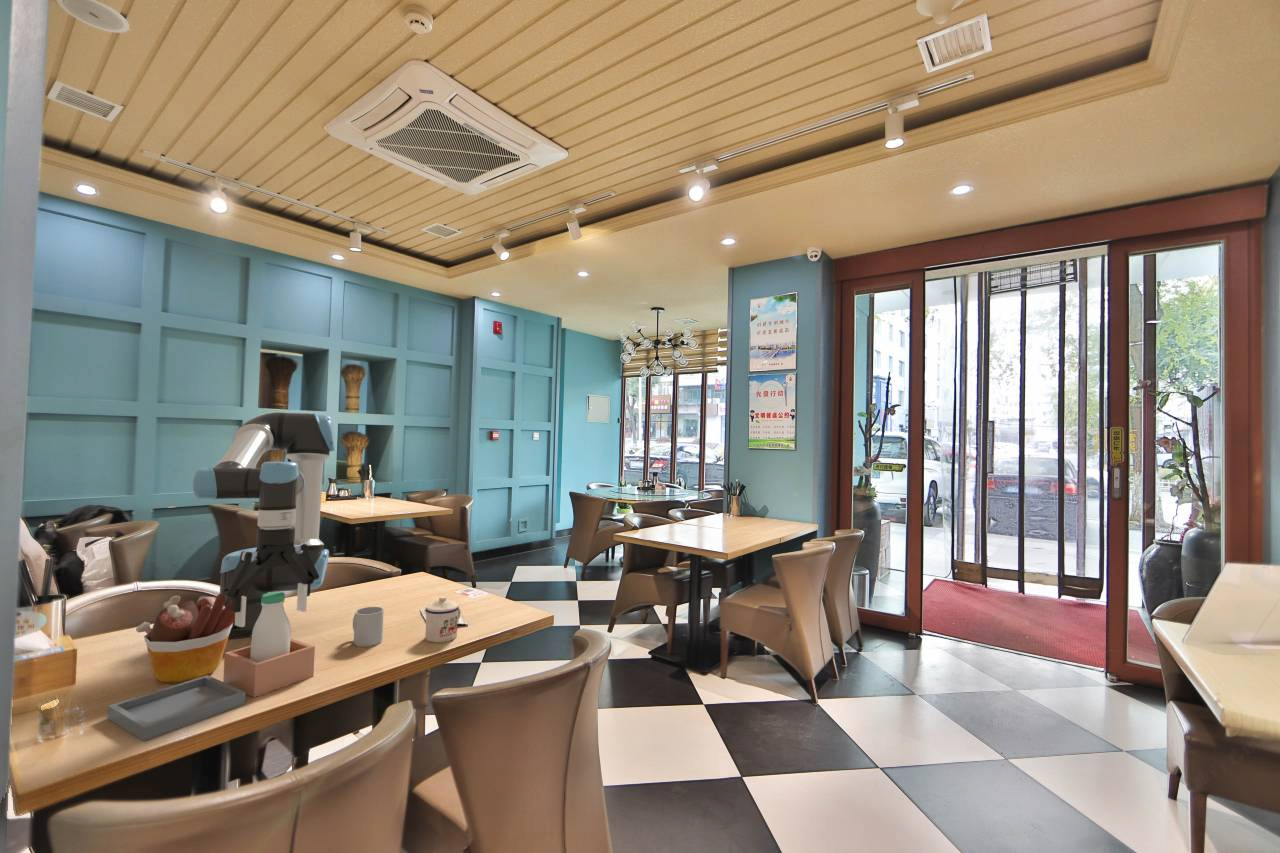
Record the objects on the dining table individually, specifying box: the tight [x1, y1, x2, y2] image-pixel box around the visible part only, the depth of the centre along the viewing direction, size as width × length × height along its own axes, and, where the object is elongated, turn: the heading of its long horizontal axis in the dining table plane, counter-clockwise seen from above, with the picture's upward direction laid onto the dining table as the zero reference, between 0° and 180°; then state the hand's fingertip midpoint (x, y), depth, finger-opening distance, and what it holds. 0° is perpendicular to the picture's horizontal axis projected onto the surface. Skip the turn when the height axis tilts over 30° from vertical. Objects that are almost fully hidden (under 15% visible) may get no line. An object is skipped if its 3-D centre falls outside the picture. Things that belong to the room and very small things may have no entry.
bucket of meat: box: [135, 592, 235, 684], centre depth 130 cm, size 20×16×20 cm
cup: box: [352, 606, 384, 648], centre depth 154 cm, size 7×10×9 cm
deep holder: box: [222, 637, 316, 698], centre depth 128 cm, size 13×13×7 cm
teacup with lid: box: [424, 595, 462, 644], centre depth 160 cm, size 12×9×12 cm
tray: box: [107, 674, 247, 742], centre depth 113 cm, size 16×17×2 cm
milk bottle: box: [250, 591, 292, 663], centre depth 129 cm, size 8×8×20 cm
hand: (272, 618), depth 128 cm, fingers open, 13 cm apart
